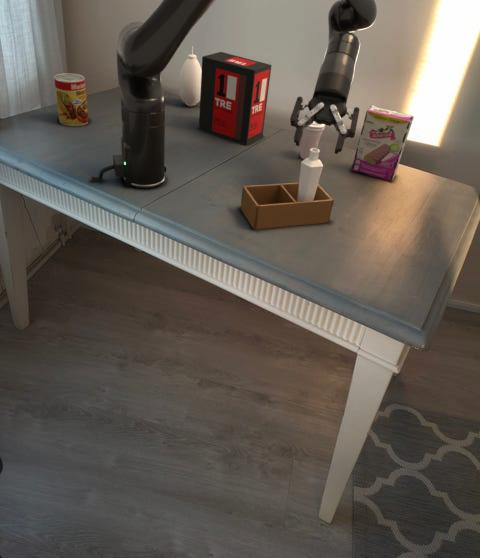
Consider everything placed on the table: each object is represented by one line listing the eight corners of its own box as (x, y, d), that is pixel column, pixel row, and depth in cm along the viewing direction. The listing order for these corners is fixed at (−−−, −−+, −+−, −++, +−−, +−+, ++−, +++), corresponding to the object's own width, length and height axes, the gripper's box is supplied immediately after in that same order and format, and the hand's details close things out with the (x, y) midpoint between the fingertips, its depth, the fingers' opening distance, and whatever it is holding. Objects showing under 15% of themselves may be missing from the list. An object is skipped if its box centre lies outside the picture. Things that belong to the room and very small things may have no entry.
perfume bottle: (290, 208, 114) (301, 145, 105) (309, 209, 114) (322, 146, 105) (293, 218, 110) (305, 154, 101) (313, 219, 110) (326, 155, 102)
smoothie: (317, 163, 135) (328, 112, 127) (294, 159, 136) (302, 108, 127) (319, 154, 140) (329, 104, 132) (296, 150, 141) (305, 100, 133)
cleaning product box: (198, 129, 147) (202, 56, 135) (216, 121, 153) (220, 51, 141) (246, 145, 141) (254, 70, 129) (262, 136, 147) (271, 64, 135)
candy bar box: (350, 171, 133) (365, 109, 123) (355, 165, 137) (370, 104, 127) (392, 182, 130) (411, 120, 120) (395, 175, 134) (414, 114, 124)
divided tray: (254, 229, 105) (257, 206, 101) (240, 208, 111) (242, 186, 108) (328, 222, 110) (333, 200, 107) (311, 202, 117) (315, 181, 113)
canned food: (84, 127, 140) (80, 83, 132) (55, 124, 139) (50, 80, 132) (91, 117, 146) (87, 74, 139) (64, 115, 146) (59, 71, 138)
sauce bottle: (175, 107, 160) (176, 46, 149) (181, 100, 166) (183, 41, 156) (199, 110, 160) (202, 50, 149) (204, 103, 166) (207, 44, 155)
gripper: (302, 65, 108) (283, 134, 106) (369, 76, 106) (351, 147, 103) (303, 84, 115) (285, 149, 113) (365, 95, 113) (348, 162, 111)
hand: (316, 148), depth 108 cm, fingers open, 8 cm apart
